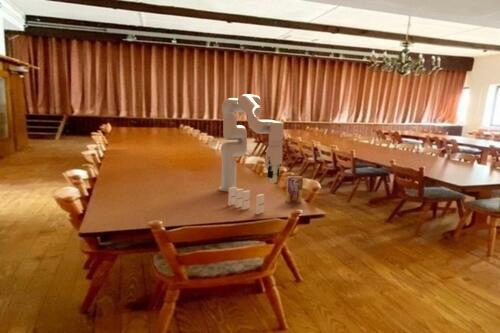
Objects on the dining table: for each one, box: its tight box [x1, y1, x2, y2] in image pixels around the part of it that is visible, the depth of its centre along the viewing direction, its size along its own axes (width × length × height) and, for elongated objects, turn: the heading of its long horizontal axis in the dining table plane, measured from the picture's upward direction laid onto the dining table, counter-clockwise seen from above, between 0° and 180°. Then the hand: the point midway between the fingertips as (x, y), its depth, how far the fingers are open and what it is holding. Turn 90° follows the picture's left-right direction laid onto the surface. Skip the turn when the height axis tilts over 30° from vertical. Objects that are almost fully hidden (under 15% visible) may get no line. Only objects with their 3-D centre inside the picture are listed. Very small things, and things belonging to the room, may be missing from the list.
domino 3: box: [240, 189, 251, 211], centre depth 190 cm, size 2×5×10 cm, turn 140°
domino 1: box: [227, 186, 237, 207], centre depth 196 cm, size 2×5×10 cm, turn 140°
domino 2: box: [234, 187, 245, 209], centre depth 193 cm, size 2×5×10 cm, turn 139°
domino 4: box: [255, 193, 265, 215], centre depth 183 cm, size 2×5×10 cm, turn 139°
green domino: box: [268, 165, 278, 185], centre depth 191 cm, size 2×5×10 cm, turn 139°
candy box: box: [285, 175, 304, 203], centre depth 207 cm, size 9×4×15 cm, turn 96°
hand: (273, 176), depth 191 cm, fingers closed on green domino, 4 cm apart
